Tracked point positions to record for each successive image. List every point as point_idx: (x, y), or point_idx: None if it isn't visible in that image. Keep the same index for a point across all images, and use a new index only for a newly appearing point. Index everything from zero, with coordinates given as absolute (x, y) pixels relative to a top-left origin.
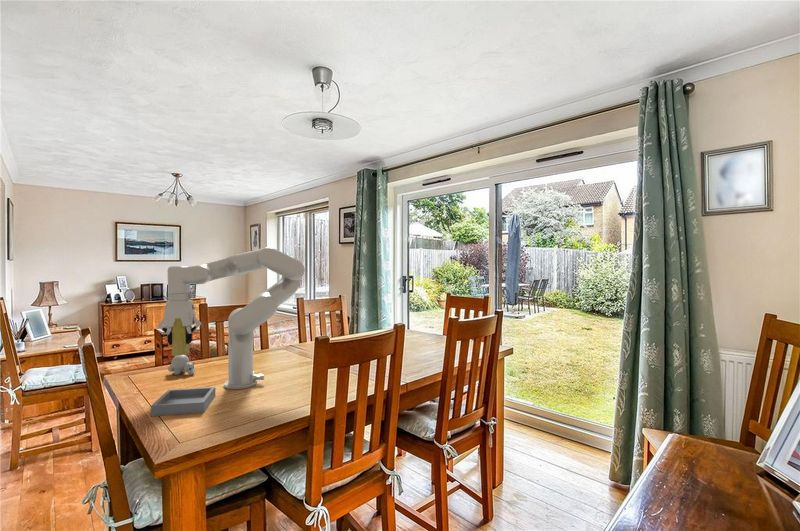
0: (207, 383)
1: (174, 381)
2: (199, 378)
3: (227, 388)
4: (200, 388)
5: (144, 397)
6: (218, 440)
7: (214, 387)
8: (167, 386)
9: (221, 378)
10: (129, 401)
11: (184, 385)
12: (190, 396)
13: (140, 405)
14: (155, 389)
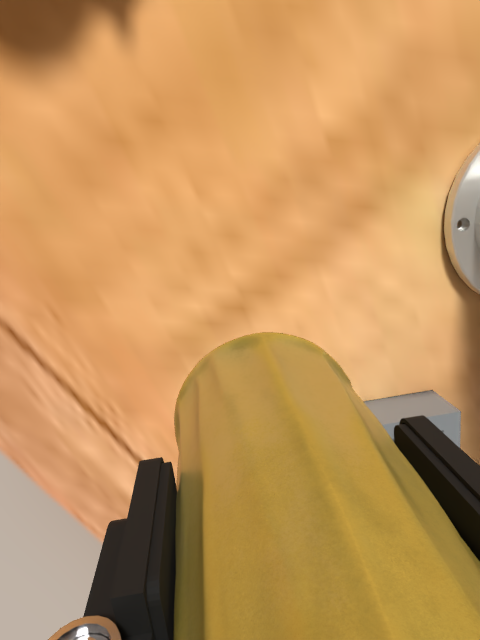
0: (329, 166)
1: (82, 94)
2: (233, 32)
3: (471, 287)
4: (389, 435)
5: (75, 398)
6: None
7: (458, 421)
8: (96, 210)
9: (388, 53)
10: (33, 451)
11: (198, 197)
12: None
13: (127, 499)
14: (52, 266)
